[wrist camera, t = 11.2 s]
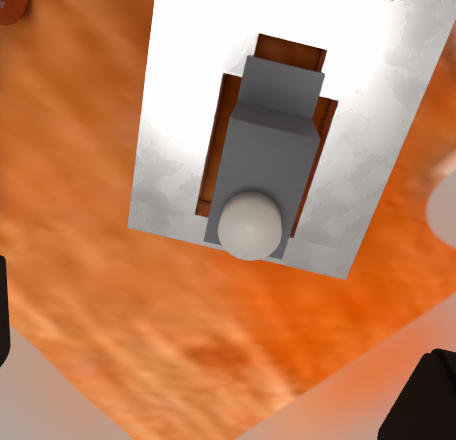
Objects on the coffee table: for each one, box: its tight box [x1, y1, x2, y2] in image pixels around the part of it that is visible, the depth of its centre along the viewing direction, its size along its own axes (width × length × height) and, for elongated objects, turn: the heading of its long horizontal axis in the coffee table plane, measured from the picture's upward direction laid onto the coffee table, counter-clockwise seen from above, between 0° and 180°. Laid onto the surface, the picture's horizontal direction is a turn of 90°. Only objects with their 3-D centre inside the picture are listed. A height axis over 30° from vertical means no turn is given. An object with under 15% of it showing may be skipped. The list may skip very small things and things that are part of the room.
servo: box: [204, 55, 326, 260], centre depth 24 cm, size 12×4×10 cm, turn 168°
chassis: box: [128, 0, 456, 280], centre depth 25 cm, size 24×16×2 cm, turn 168°
